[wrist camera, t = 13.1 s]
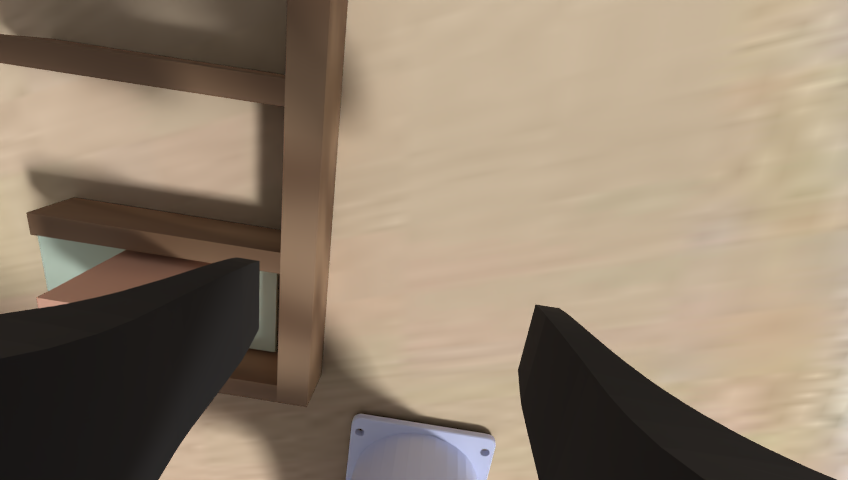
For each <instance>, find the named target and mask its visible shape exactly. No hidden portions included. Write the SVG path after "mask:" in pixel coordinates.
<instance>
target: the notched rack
mask: <svg viewBox="0 0 848 480" xmlns="http://www.w3.org/2000/svg"><path fill="white" fill-rule="evenodd" d="M347 5H348V0H287V32H286V69H285V75H283V74H276V73H270V72H263V71H257V70H250V69H244V68H237V67H231V66H224V65H218V64H211V63H205V62H198V61H192V60H186V59H179V58H173V57H166V56H160V55H153V54H147V53H140V52H134V51H127V50H121V49H114V48H108V47H101V46H95V45H88V44H82V43H75V42H69V41H62V40H56V39H48V38H37V37H26V36H15V35H4V34H0V63H4V64H11V65H17V66H24V67H30V68H37V69H43V70H50V71H56V72H63V73H69V74H76V75H82V76H89V77H95V78H101V79H108V80H114V81H121V82H127V83H134V84H140V85H147V86H153V87H160V88H166V89H173V90H179V91H186V92H192V93H198V94H205V95H211V96H218V97H224V98H231V99H237V100H244V101H250V102H257V103H263V104H270V105H276V106H283V107H284V144H283V182H282V220H281V230H278V229H271V228H265V227H259V226H252V225H246V224H240V223H233V222H227V221H221V220H214V219H208V218H202V217H195V216H189V215H183V214H176V213H170V212H163V211H157V210H151V209H144V208H138V207H132V206H125V205H119V204H113V203H106V202H100V201H94V200H87V199H81V198H71V199H68V200H64V201H61V202H58V203H55V204H52V205H49V206H46V207H43V208H40V209H37V210H33V211H30V212H27V218H28V223H29V229H30V234H31V235H37V236H38V241H39V246H40V251H41V256H42V262H43V267H44V272H45V278H46V283H47V288H48V291H50V290H52V289H53V288H55V287H57V286H59V285H61V284H63V283H65V282H67V281H68V280H70V279H72V278H74V277H76V276H78V275H80V274H82V273H83V272H85V271H87V270H89V269H91V268H93V267H95V266H97V265H98V264H100V263H102V262H104V261H106V260H108V259H110V258H112V257H113V256H115V255H117V254H119V253H121V252H123V251H125V250H132V251H138V252H144V253H150V254H157V255H163V256H169V257H176V258H182V259H188V260H195V261H201V262H207V263H215V262H218V261H222V260H226V259H230V258H236V257H238V258H244V259H250V260H257V261H260V292H259V330H258V332H257V334H256V336H255V338H254V340H253V342H252V343H251V345H250V347H249V349H248V351H247V352H246V354H245V356H244V358H243V360H242V361H241V362H240V364H239V365H238V367H237V368H236V369H235V371H234V372H233V373H232V375H231V376H230V377H229V379H228V380H227V381H226V383H225V384H224V386H223V387H222V388H221V389H220V391H219V392H218V393H223V394H230V395H236V396H242V397H248V398H254V399H261V400H267V401H273V402H279V403H285V404H292V405H298V406H304V407H307V406H308V403H309V401H310V399H311V396H312V394H313V392H314V390H315V387H316V385H317V383H318V381H319V378H320V376H321V372H322V358H323V344H324V330H325V316H326V301H327V287H328V273H329V259H330V245H331V231H332V217H333V203H334V188H335V174H336V160H337V146H338V132H339V118H340V104H341V90H342V76H343V61H344V47H345V33H346V19H347ZM278 274H280V295H279V332H278V352H275V351H276V345H277V305H278Z"/></svg>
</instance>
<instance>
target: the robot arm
mask: <svg viewBox="0 0 848 480" xmlns="http://www.w3.org/2000/svg"><path fill="white" fill-rule="evenodd" d="M259 292H260V261H257V260H250V259H244V258H238V257H236V258H230V259H226V260H222V261H218V262H215V263H212V264H208V265H205V266H202V267H199V268H196V269H193V270H190V271H187V272H184V273H180V274H177V275H174V276H171V277H168V278H165V279H162V280H158V281H155V282H151V283H148V284H144V285H141V286H137V287H134V288H130V289H127V290H124V291H120V292H116V293H112V294H108V295H104V296H100V297H96V298H91V299H86V300H81V301H77V302H72V303H67V304H62V305H57V306H50V307H44V308H38V309H31V310H25V311H18V312H12V313H5V314H0V480H158V479H159V478H160V476H161V474H162V473H163V471H164V470H165V468H166V466H167V465H168V463H169V461H170V460H171V458H172V456H173V455H174V453H175V451H176V450H177V448H178V447H179V445H180V444H181V442H182V441H183V439H184V438H185V436H186V435H187V433H188V432H189V431H190V429H191V428H192V427H193V425H194V424H195V423H196V421H197V420H198V419H199V417H200V416H201V415H202V413H203V412H204V411H205V409H206V408H207V407H208V405H209V404H210V403H211V401H212V400H213V399H214V397H215V396H216V395H217V393H218V392H219V391H220V389H221V388H222V387H223V386H224V384H225V383H226V381H227V380H228V379H229V377H230V376H231V375H232V373H233V372H234V371H235V369H236V368H237V367H238V365H239V364H240V362H241V361H242V360H243V358H244V356H245V354H246V352H247V351H248V349H249V347H250V345H251V343H252V342H253V340H254V338H255V336H256V334H257V332H258V330H259ZM518 375H519V387H520V397H521V406H522V410H523V415H524V419H525V423H526V428H527V432H528V436H529V440H530V445H531V449H532V453H533V457H534V461H535V465H536V470H537V474H538V478H539V480H836V479H834V478H831V477H829V476H827V475H824V474H822V473H819V472H817V471H814V470H812V469H810V468H808V467H805V466H803V465H801V464H799V463H797V462H795V461H793V460H790V459H788V458H786V457H784V456H782V455H780V454H778V453H776V452H773V451H771V450H769V449H767V448H765V447H763V446H761V445H759V444H757V443H755V442H753V441H751V440H749V439H747V438H745V437H743V436H741V435H739V434H737V433H736V432H734V431H732V430H730V429H728V428H726V427H725V426H723V425H721V424H719V423H717V422H716V421H714V420H712V419H710V418H708V417H707V416H705V415H703V414H701V413H700V412H698V411H696V410H695V409H693V408H691V407H690V406H688V405H686V404H685V403H683V402H682V401H680V400H679V399H677V398H676V397H674V396H672V395H671V394H669V393H668V392H666V391H665V390H663V389H662V388H660V387H659V386H657V385H656V384H654V383H653V382H651V381H650V380H649V379H647V378H646V377H645V376H643V375H642V374H641V373H639V372H638V371H637V370H635V369H634V368H633V367H631V366H630V365H629V364H627V363H626V362H625V361H623V360H622V359H621V358H620V357H618V356H617V355H616V354H615V353H613V352H612V351H611V350H610V349H608V348H607V347H606V346H605V345H604V344H602V343H601V342H600V341H599V340H598V339H597V338H595V337H594V336H593V335H592V334H591V333H590V332H588V331H587V330H586V329H585V328H584V327H583V326H581V325H580V324H579V323H578V322H577V321H575V320H574V319H573V318H572V317H571V316H569V315H568V314H567V313H565V312H564V311H563V310H561V309H559V308H554V307H548V306H541V305H535V309H534V313H533V316H532V320H531V324H530V327H529V331H528V335H527V339H526V342H525V346H524V350H523V354H522V357H521V361H520V365H519V369H518ZM358 429H362V430H363V431H360V430H358ZM495 445H496V444H495V439H494V437H493V436H492V435H490V434H485V433H479V432H473V431H466V430H460V429H454V428H448V427H442V426H435V425H429V424H423V423H417V422H411V421H404V420H398V419H392V418H386V417H380V416H373V415H367V414H357V415H355V416H354V418H353V421H352V425H351V435H350V444H349V453H348V463H347V472H346V480H487V477H488V473H489V469H490V465H491V462H492V458H493V454H494V450H495ZM482 449H487V450H484V451H483V450H482Z"/></svg>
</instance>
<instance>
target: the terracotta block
mask: <svg viewBox="0 0 848 480" xmlns="http://www.w3.org/2000/svg"><path fill="white" fill-rule="evenodd" d="M208 264H212V263H207V262H201V261H195V260H188V259H182V258H176V257H169V256H163V255H157V254H150V253H144V252H138V251H132V250H125V251H123V252H121V253H119V254H117V255H115V256H113V257H112V258H110V259H108V260H106V261H104V262H102V263H100V264H98V265H97V266H95V267H93V268H91V269H89V270H87V271H85V272H83V273H82V274H80V275H78V276H76V277H74V278H72V279H70V280H68V281H67V282H65V283H63V284H61V285H59V286H57V287H55V288H53V289H52V290H50V291H48V292H46V293H44V294H42V295H40V296H38V297H37V303H38V308H44V307H50V306H57V305H62V304H67V303H72V302H77V301H81V300H86V299H91V298H96V297H100V296H104V295H108V294H112V293H116V292H120V291H124V290H127V289H130V288H134V287H137V286H141V285H144V284H148V283H151V282H155V281H158V280H162V279H165V278H168V277H171V276H174V275H177V274H180V273H184V272H187V271H190V270H193V269H196V268H199V267H202V266H205V265H208Z"/></svg>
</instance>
